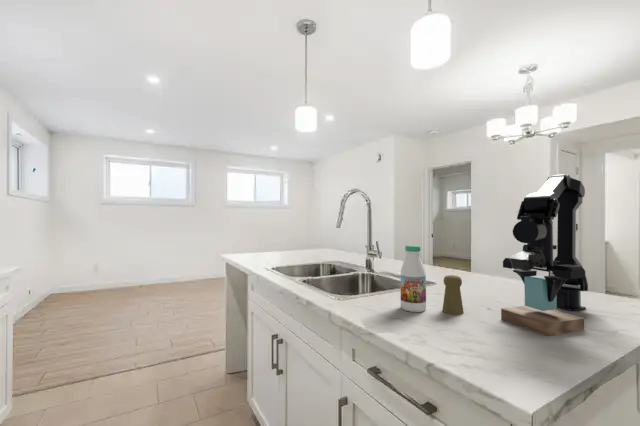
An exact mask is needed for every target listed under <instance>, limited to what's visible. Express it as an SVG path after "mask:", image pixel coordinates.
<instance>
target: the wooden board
mask: <svg viewBox="0 0 640 426" xmlns="http://www.w3.org/2000/svg"><path fill="white" fill-rule="evenodd" d="M500 315H501V316H500V318H501V319H500V320H503V321H505V322H508V323H511V324H513V325H515V326H516V325H517V326H519V327H522V328H524V329H527V330H530V331H532V332H535V333H538V334H541V335H544V336H546V337H549V336H555V335H562V334H568V333H574V332H581V331H585V328H586V327H585V317H581V316H577V315H574V314H570V313H567V312H562V311H560V310H557V309H554V310H547V311H541V310H538V309H534V308H531V307H528V306H525V305H520V306H512V307H504V308H500Z"/></svg>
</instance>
